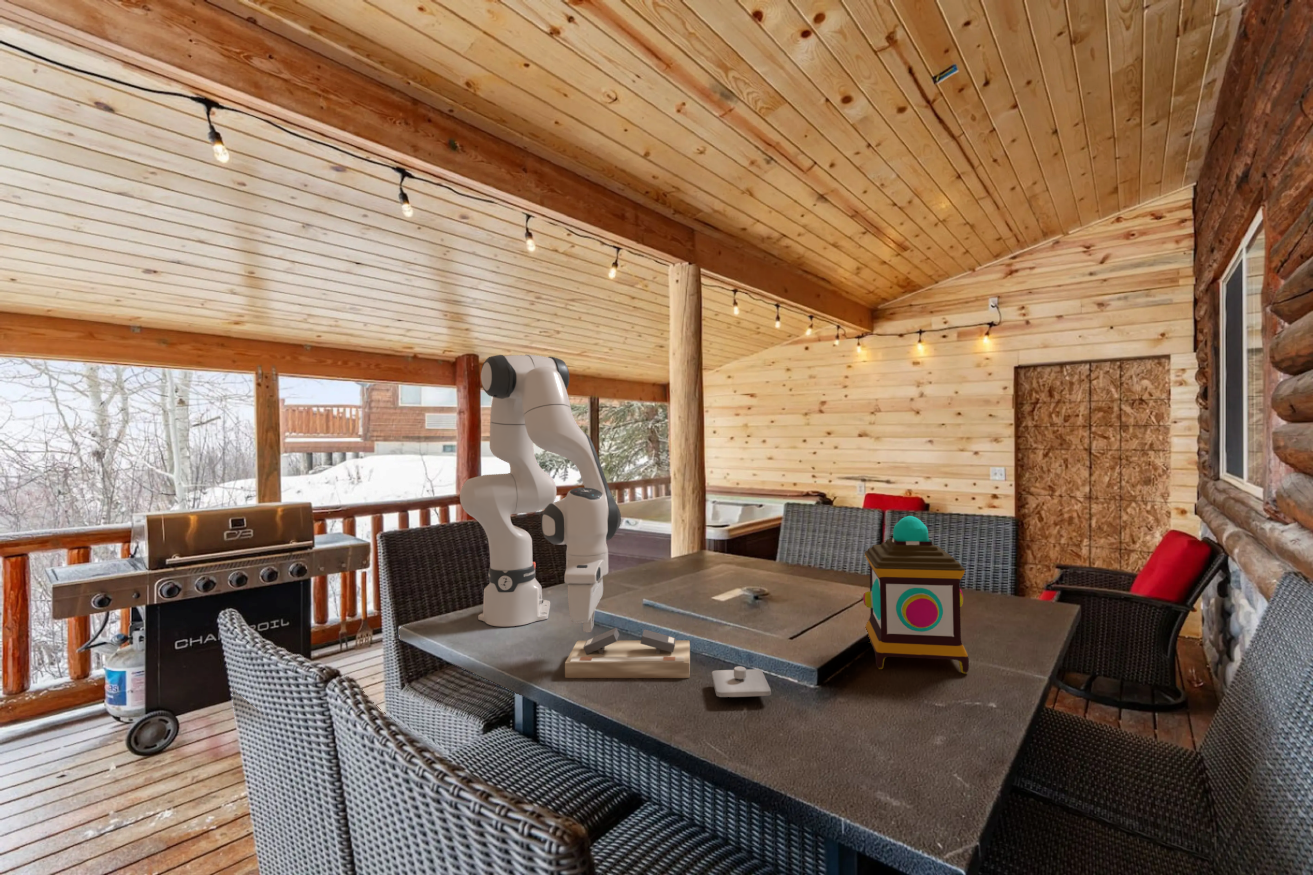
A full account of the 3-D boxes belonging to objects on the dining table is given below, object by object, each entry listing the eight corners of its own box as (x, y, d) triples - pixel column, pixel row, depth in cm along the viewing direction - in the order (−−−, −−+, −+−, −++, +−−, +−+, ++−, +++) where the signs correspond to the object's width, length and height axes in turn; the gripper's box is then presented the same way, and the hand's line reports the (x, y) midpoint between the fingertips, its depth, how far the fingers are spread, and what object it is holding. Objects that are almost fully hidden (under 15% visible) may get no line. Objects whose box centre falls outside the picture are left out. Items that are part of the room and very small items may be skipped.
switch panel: (577, 653, 134) (577, 636, 134) (690, 653, 133) (689, 635, 133) (565, 677, 121) (564, 657, 121) (689, 677, 120) (688, 657, 120)
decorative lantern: (858, 638, 140) (855, 509, 140) (950, 642, 136) (947, 509, 136) (871, 672, 121) (867, 522, 120) (978, 678, 116) (975, 523, 116)
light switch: (772, 706, 107) (771, 677, 107) (717, 707, 107) (716, 679, 107) (761, 683, 117) (761, 657, 117) (711, 684, 117) (710, 658, 117)
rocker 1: (590, 646, 130) (586, 639, 130) (619, 634, 129) (616, 627, 129) (586, 654, 125) (583, 647, 125) (616, 641, 125) (613, 633, 125)
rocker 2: (642, 636, 129) (644, 628, 129) (673, 644, 129) (675, 637, 129) (640, 643, 125) (642, 635, 125) (673, 652, 124) (675, 644, 124)
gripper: (581, 554, 138) (582, 614, 139) (562, 577, 118) (563, 647, 118) (609, 554, 138) (610, 614, 138) (594, 577, 117) (595, 647, 118)
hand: (588, 629), depth 128 cm, fingers closed
